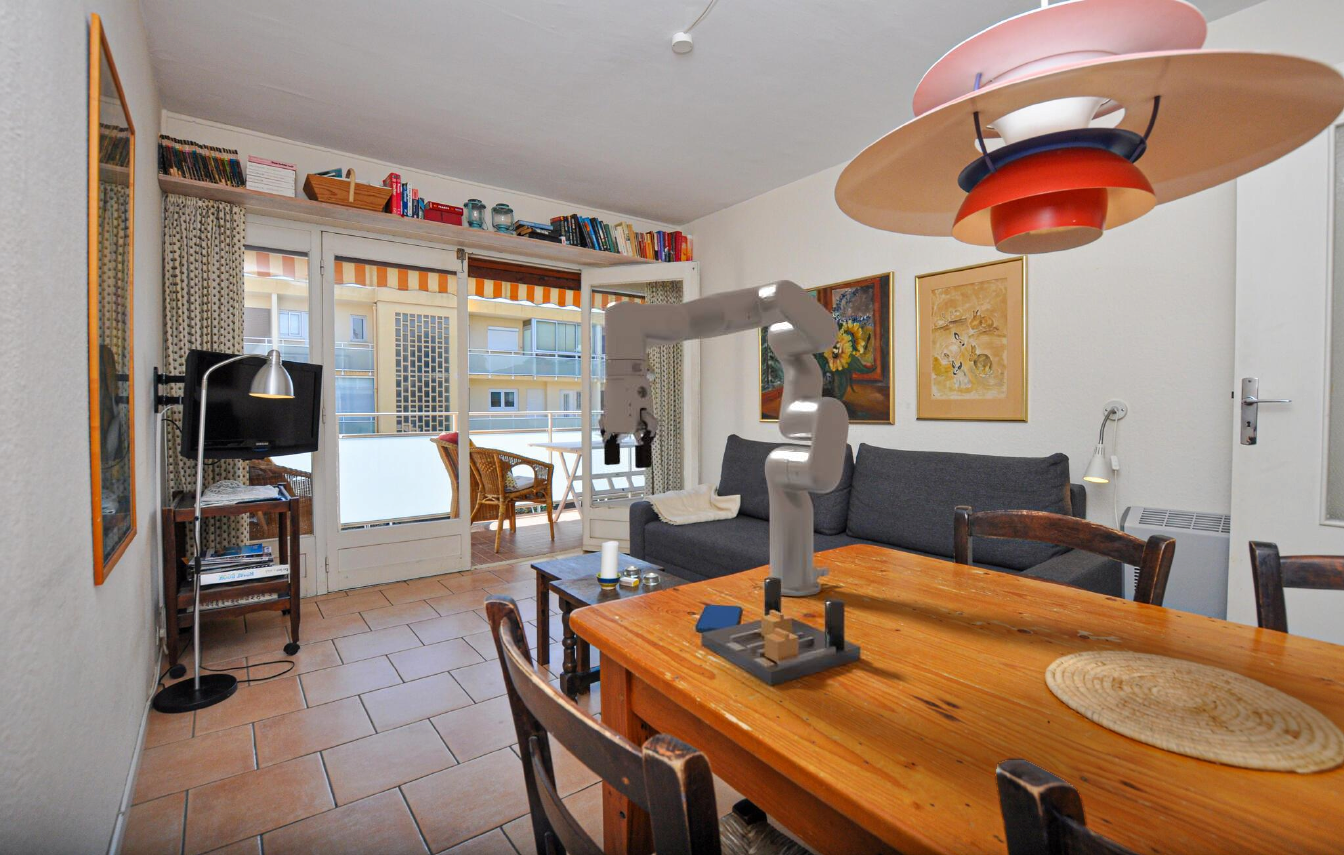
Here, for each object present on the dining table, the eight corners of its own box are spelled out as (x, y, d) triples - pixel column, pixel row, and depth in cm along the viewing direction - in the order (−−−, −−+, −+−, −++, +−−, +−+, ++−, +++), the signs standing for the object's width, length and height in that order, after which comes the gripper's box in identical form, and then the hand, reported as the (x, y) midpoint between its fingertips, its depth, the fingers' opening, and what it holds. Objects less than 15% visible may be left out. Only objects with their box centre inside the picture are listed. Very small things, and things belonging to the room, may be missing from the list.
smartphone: (742, 606, 120) (735, 630, 105) (742, 611, 120) (735, 636, 105) (705, 604, 121) (694, 628, 107) (705, 609, 121) (694, 633, 107)
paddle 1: (780, 630, 101) (779, 607, 101) (792, 635, 98) (792, 612, 98) (761, 634, 99) (761, 611, 99) (773, 640, 96) (773, 617, 96)
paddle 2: (785, 650, 92) (784, 625, 92) (798, 656, 90) (798, 631, 89) (764, 655, 90) (764, 630, 90) (777, 662, 88) (777, 636, 87)
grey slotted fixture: (780, 623, 110) (780, 575, 110) (860, 659, 94) (860, 602, 94) (698, 643, 101) (697, 590, 101) (771, 686, 85) (770, 623, 85)
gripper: (672, 369, 104) (673, 467, 104) (616, 375, 117) (617, 462, 118) (637, 367, 99) (639, 470, 100) (583, 373, 113) (584, 464, 113)
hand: (627, 466), depth 109 cm, fingers open, 9 cm apart
